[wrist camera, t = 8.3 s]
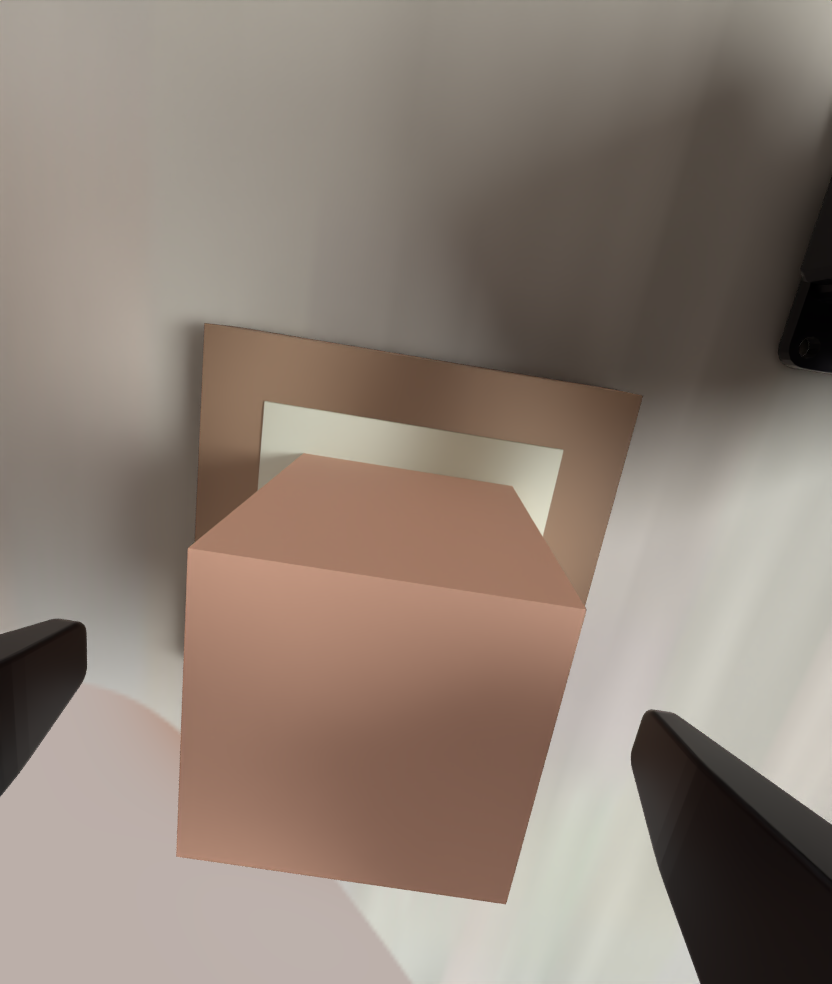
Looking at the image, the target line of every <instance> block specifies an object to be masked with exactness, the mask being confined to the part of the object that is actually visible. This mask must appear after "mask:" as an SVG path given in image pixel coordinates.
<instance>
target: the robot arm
mask: <svg viewBox="0 0 832 984" xmlns="http://www.w3.org/2000/svg"><path fill="white" fill-rule="evenodd" d="M801 274H802V278H801V281H800V284H799V287H798V290H797V293H796V296H795V299H794V302H793V305H792V308H791V311H790V314H789V317H788V320H787V323H786V326H785V329H784V332H783V335H782V337H781V340H780V343H779V349H778V354H779V358H780V360H781V361H782V362H783V364H784V365H786V366H789V367H791V368H796V369H802V370H808V371H814V372H820V373H826V374H832V177H831V180H830V183H829V186H828V189H827V192H826V195H825V198H824V201H823V204H822V207H821V210H820V213H819V216H818V219H817V222H816V225H815V228H814V231H813V234H812V237H811V240H810V243H809V245H808V248H807V251H806V254H805V257H804V260H803V263H802V266H801ZM804 339H807V341H808V343H809V349H808V351H807V352H806V354H805V355H803V356H801V355H800V353H799V346H800V344H801V342H802V341H803V340H804ZM86 670H87V633H86V628H85V626H84V624H82V623H81V622H78V621H71V620H65V619H51V620H48V621H44V622H41V623H38V624H34V625H31V626H27V627H24V628H21V629H17V630H14V631H10V632H7V633H3V634H0V796H1V795H2V794H3V793H4V792H5V790H6V789H7V788H8V786H9V785H10V784H11V783H12V781H13V780H14V779H15V778H16V777H17V775H18V774H19V773H20V771H21V770H22V769H23V767H24V766H25V765H26V763H27V762H28V761H29V759H30V758H31V756H32V755H33V753H34V752H35V750H36V749H37V748H38V746H39V745H40V743H41V742H42V740H43V739H44V737H45V736H46V735H47V733H48V732H49V730H50V729H51V727H52V726H53V724H54V723H55V722H56V720H57V719H58V717H59V716H60V714H61V713H62V711H63V710H64V709H65V707H66V706H67V704H68V703H69V701H70V700H71V698H72V697H73V695H74V694H75V692H76V691H77V689H78V688H79V687H80V685H81V684H82V682H83V680H84V678H85V675H86ZM631 766H632V770H633V774H634V778H635V782H636V785H637V789H638V793H639V797H640V801H641V805H642V808H643V812H644V816H645V820H646V824H647V827H648V831H649V835H650V839H651V843H652V846H653V850H654V854H655V857H656V860H657V864H658V867H659V870H660V873H661V876H662V879H663V882H664V885H665V888H666V891H667V893H668V896H669V899H670V902H671V904H672V907H673V910H674V913H675V915H676V918H677V921H678V924H679V926H680V929H681V932H682V935H683V937H684V940H685V943H686V946H687V948H688V951H689V954H690V956H691V959H692V962H693V965H694V967H695V970H696V973H697V976H698V978H699V981H700V984H832V825H831V824H830V823H829V822H827V821H826V820H824V819H823V818H822V817H820V816H819V815H817V814H816V813H815V812H813V811H812V810H810V809H809V808H808V807H806V806H805V805H803V804H802V803H800V802H799V801H798V800H796V799H795V798H793V797H792V796H791V795H789V794H788V793H786V792H785V791H784V790H782V789H781V788H779V787H778V786H777V785H775V784H774V783H772V782H771V781H769V780H768V779H767V778H765V777H764V776H762V775H761V774H760V773H758V772H757V771H755V770H754V769H753V768H751V767H750V766H748V765H747V764H746V763H744V762H743V761H741V760H740V759H738V758H737V757H736V756H734V755H733V754H731V753H730V752H729V751H727V750H726V749H724V748H723V747H722V746H720V745H719V744H717V743H716V742H715V741H713V740H712V739H710V738H709V737H707V736H706V735H705V734H703V733H702V732H700V731H699V730H698V729H696V728H695V727H693V726H692V725H691V724H689V723H688V722H686V721H685V720H684V719H682V718H681V717H679V716H678V715H676V714H674V713H672V712H666V711H659V710H652V709H651V710H648V711H646V712H645V714H644V715H643V717H642V720H641V723H640V726H639V729H638V732H637V735H636V739H635V742H634V745H633V748H632V752H631Z"/></svg>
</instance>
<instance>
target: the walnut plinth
mask: <svg viewBox="0 0 832 984" xmlns="http://www.w3.org/2000/svg"><path fill="white" fill-rule="evenodd" d="M642 398H643V396H642V395H637V394H633V393H628V392H623V391H619V390H614V389H609V388H603V387H597V386H591V385H585V384H579V383H572V382H566V381H560V380H554V379H548V378H542V377H536V376H530V375H524V374H518V373H512V372H506V371H500V370H494V369H488V368H482V367H476V366H470V365H464V364H458V363H452V362H446V361H440V360H434V359H428V358H422V357H416V356H410V355H403V354H397V353H391V352H385V351H379V350H373V349H367V348H361V347H355V346H349V345H343V344H337V343H331V342H325V341H319V340H313V339H307V338H301V337H295V336H289V335H283V334H277V333H271V332H265V331H259V330H253V329H247V328H241V327H233V326H225V325H216V324H207V323H205V325H204V347H203V369H202V391H201V414H200V436H199V458H198V480H197V502H196V524H195V542H196V541H197V540H198V539H199V538H201V537H202V536H203V535H204V534H206V533H207V532H208V531H209V530H210V529H212V528H213V527H214V526H215V525H217V524H218V523H219V522H220V521H221V520H223V519H224V518H225V517H226V516H228V515H229V514H230V513H231V512H232V511H234V510H235V509H236V508H237V507H239V506H240V505H241V504H242V503H243V502H245V501H246V500H247V499H248V498H249V497H251V496H252V495H253V494H254V493H256V492H257V491H258V490H259V489H260V488H262V487H263V486H264V485H265V484H267V483H268V482H269V481H270V480H271V479H273V478H274V477H275V476H276V475H278V474H279V473H280V472H281V471H282V470H284V469H285V468H286V467H287V466H288V465H290V464H291V463H292V462H293V461H295V460H296V459H297V458H298V457H299V456H301V455H302V454H303V453H306V454H312V455H319V456H325V457H331V458H338V459H344V460H350V461H357V462H363V463H369V464H376V465H382V466H388V467H395V468H401V469H407V470H414V471H420V472H426V473H433V474H439V475H445V476H452V477H458V478H464V479H471V480H477V481H483V482H490V483H496V484H502V485H509V486H513V488H514V490H515V491H516V493H517V495H518V496H519V498H520V500H521V501H522V503H523V505H524V506H525V508H526V510H527V511H528V513H529V515H530V516H531V518H532V520H533V521H534V523H535V525H536V526H537V528H538V530H539V531H540V533H541V535H542V536H543V538H544V540H545V541H546V543H547V545H548V546H549V548H550V550H551V551H552V553H553V555H554V556H555V558H556V560H557V561H558V563H559V565H560V566H561V568H562V570H563V571H564V573H565V575H566V576H567V578H568V580H569V581H570V583H571V585H572V586H573V588H574V590H575V591H576V593H577V595H578V596H579V598H580V600H581V601H582V603H583V605H584V606H585V604H586V600H587V597H588V593H589V589H590V586H591V582H592V579H593V575H594V571H595V568H596V564H597V560H598V557H599V553H600V550H601V546H602V542H603V539H604V535H605V532H606V528H607V524H608V521H609V517H610V513H611V510H612V506H613V503H614V499H615V495H616V492H617V488H618V485H619V481H620V477H621V474H622V470H623V466H624V463H625V459H626V456H627V452H628V448H629V445H630V441H631V437H632V434H633V430H634V427H635V423H636V419H637V416H638V412H639V409H640V405H641V401H642Z"/></svg>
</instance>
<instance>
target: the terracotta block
mask: <svg viewBox="0 0 832 984" xmlns="http://www.w3.org/2000/svg"><path fill="white" fill-rule="evenodd" d="M585 613H586V608H585V606H584V605H583V603H582V601H581V600H580V598H579V596H578V595H577V593H576V591H575V590H574V588H573V586H572V585H571V583H570V581H569V580H568V578H567V576H566V575H565V573H564V571H563V570H562V568H561V566H560V565H559V563H558V561H557V560H556V558H555V556H554V555H553V553H552V551H551V550H550V548H549V546H548V545H547V543H546V541H545V540H544V538H543V536H542V535H541V533H540V531H539V530H538V528H537V526H536V525H535V523H534V521H533V520H532V518H531V516H530V515H529V513H528V511H527V510H526V508H525V506H524V505H523V503H522V501H521V500H520V498H519V496H518V495H517V493H516V491H515V490H514V488H513V486H509V485H502V484H496V483H490V482H483V481H477V480H471V479H464V478H458V477H452V476H445V475H439V474H433V473H426V472H420V471H414V470H407V469H401V468H395V467H388V466H382V465H376V464H369V463H363V462H357V461H350V460H344V459H338V458H331V457H325V456H319V455H312V454H306V453H303V454H302V455H301V456H299V457H298V458H297V459H296V460H295V461H293V462H292V463H291V464H290V465H288V466H287V467H286V468H285V469H284V470H282V471H281V472H280V473H279V474H278V475H276V476H275V477H274V478H273V479H271V480H270V481H269V482H268V483H267V484H265V485H264V486H263V487H262V488H260V489H259V490H258V491H257V492H256V493H254V494H253V495H252V496H251V497H249V498H248V499H247V500H246V501H245V502H243V503H242V504H241V505H240V506H239V507H237V508H236V509H235V510H234V511H232V512H231V513H230V514H229V515H228V516H226V517H225V518H224V519H223V520H221V521H220V522H219V523H218V524H217V525H215V526H214V527H213V528H212V529H210V530H209V531H208V532H207V533H206V534H204V535H203V536H202V537H201V538H199V539H198V540H197V541H196V542H195V543H193V544H192V545H191V546H190V547H189V548H188V556H187V583H186V610H185V637H184V664H183V691H182V718H181V745H180V773H179V774H180V775H179V799H178V826H177V827H178V828H177V852H176V853H177V854H176V856H177V857H183V858H190V859H197V860H204V861H211V862H218V863H225V864H232V865H238V866H245V867H252V868H260V869H266V870H273V871H281V872H287V873H294V874H301V875H308V876H315V877H322V878H328V879H335V880H342V881H349V882H356V883H363V884H370V885H377V886H384V887H390V888H397V889H404V890H411V891H418V892H425V893H432V894H439V895H446V896H453V897H460V898H466V899H473V900H480V901H487V902H494V903H501V904H506V902H507V899H508V895H509V892H510V888H511V884H512V881H513V877H514V873H515V870H516V866H517V862H518V859H519V855H520V851H521V848H522V844H523V840H524V837H525V833H526V829H527V826H528V822H529V818H530V815H531V811H532V807H533V804H534V800H535V796H536V793H537V789H538V785H539V782H540V778H541V774H542V771H543V767H544V763H545V760H546V756H547V752H548V749H549V745H550V742H551V738H552V734H553V731H554V727H555V723H556V720H557V716H558V712H559V709H560V705H561V701H562V698H563V694H564V690H565V687H566V683H567V679H568V676H569V672H570V668H571V665H572V661H573V657H574V654H575V650H576V646H577V643H578V639H579V635H580V632H581V628H582V624H583V621H584V617H585Z"/></svg>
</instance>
